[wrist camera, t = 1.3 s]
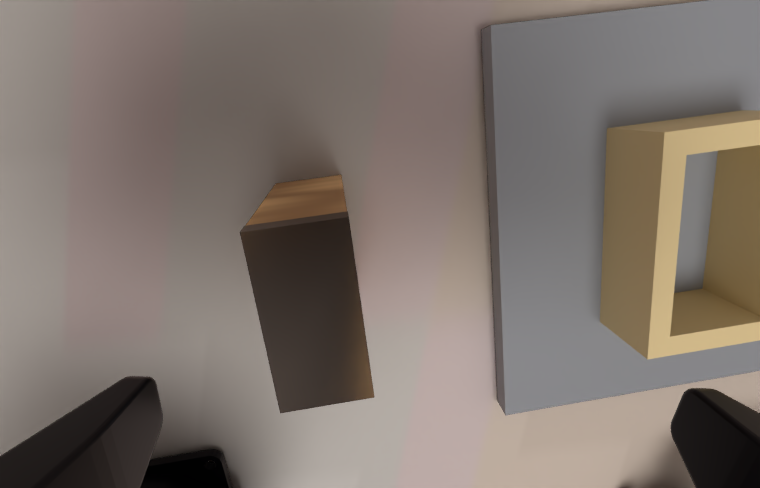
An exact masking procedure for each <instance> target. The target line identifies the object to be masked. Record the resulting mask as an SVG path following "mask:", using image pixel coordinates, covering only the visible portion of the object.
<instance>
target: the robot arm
mask: <svg viewBox="0 0 760 488" xmlns="http://www.w3.org/2000/svg"><path fill="white" fill-rule="evenodd" d="M162 421H163V413H162V408H161V403H160V399H159V394H158V390H157V385H156V382H155V380H154V379H153V378H151V377H143V376H130V377H125V378H123V379H122V380H120V381H118V382H117V383H115V384H114V385H112V386H110V387H109V388H107V389H106V390H104V391H103V392H101V393H99V394H98V395H96V396H95V397H93V398H91V399H90V400H88V401H87V402H85V403H84V404H82V405H80V406H79V407H77V408H76V409H74V410H72V411H71V412H69V413H68V414H66V415H65V416H63V417H61V418H60V419H58V420H57V421H55V422H53V423H52V424H50V425H49V426H47V427H46V428H44V429H42V430H41V431H39V432H38V433H36V434H34V435H33V436H31V437H30V438H28V439H27V440H25V441H23V442H22V443H20V444H19V445H17V446H15V447H14V448H12V449H11V450H9V451H8V452H6V453H4V454H3V455H1V456H0V488H233V487H232V483H231V480H230V476H229V473H228V469H227V465H226V462H225V458H224V456H223V454H222V453H221V452H220V451H218V450H215V449H209V450H204V451H198V452H192V453H186V454H180V455H175V456H169V457H163V458H157V459H151V460H150V458H151V455H152V453H153V450H154V447H155V444H156V441H157V438H158V436H159V433H160V430H161V427H162ZM671 434H672V437H673V440H674V442H675V444H676V446H677V449H678V451H679V453H680V455H681V457H682V459H683V461H684V464H685V466H686V468H687V470H688V472H689V474H690V476H691V479H692V481H693V483H694V485H695V487H696V488H760V413H758V412H756V411H754V410H752V409H750V408H749V407H747V406H745V405H743V404H741V403H739V402H738V401H736V400H734V399H732V398H730V397H728V396H727V395H725V394H723V393H721V392H719V391H717V390H714V389H706V388H691V389H688V390H687V391H685V392H684V394H683V396H682V398H681V400H680V403H679V405H678V408H677V410H676V412H675V415H674V417H673V419H672V422H671ZM209 460H210V461H214V462H215V463H210V462H208V461H209Z"/></svg>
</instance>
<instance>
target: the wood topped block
mask: <svg viewBox="0 0 760 488" xmlns="http://www.w3.org/2000/svg"><path fill="white" fill-rule="evenodd" d="M240 235H241V239H242V244H243V248H244V253H245V257H246V262H247V266H248V271H249V275H250V280H251V284H252V288H253V293H254V297H255V302H256V306H257V311H258V315H259V320H260V324H261V329H262V333H263V338H264V342H265V347H266V351H267V356H268V360H269V365H270V369H271V374H272V378H273V383H274V387H275V391H276V396H277V400H278V405H279V409H280V413H284V412H290V411H296V410H302V409H308V408H314V407H320V406H326V405H332V404H338V403H344V402H350V401H355V400H361V399H367V398H373V397H374V391H373V384H372V377H371V370H370V363H369V356H368V349H367V342H366V335H365V328H364V321H363V314H362V307H361V300H360V293H359V286H358V280H357V273H356V266H355V259H354V252H353V245H352V238H351V231H350V224H349V217H348V211H347V207H346V201H345V195H344V189H343V183H342V177H341V175H336V176H328V177H321V178H313V179H306V180H298V181H291V182H284V183H276V184H275V185H274V187H273V188H272V190H271V191H270V192H269V194H268V195H267V197H266V198H265V199H264V201H263V202H262V203H261V205H260V206H259V208H258V209H257V210H256V212H255V213H254V215H253V216H252V217H251V219H250V220H249V221H248V223H247V224H246V226H244V227H243V229H242V230H241V232H240Z"/></svg>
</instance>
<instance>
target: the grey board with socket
mask: <svg viewBox="0 0 760 488" xmlns="http://www.w3.org/2000/svg"><path fill="white" fill-rule="evenodd" d="M481 35H482V58H483V80H484V103H485V126H486V149H487V171H488V194H489V217H490V240H491V262H492V285H493V308H494V331H495V353H496V376H497V399H498V403H499V405H500V406H501V408H502V410H503V412H504V413H505V415H510V414H516V413H521V412H527V411H533V410H538V409H544V408H550V407H555V406H561V405H567V404H573V403H578V402H584V401H590V400H595V399H601V398H607V397H612V396H618V395H624V394H630V393H635V392H641V391H647V390H652V389H658V388H664V387H669V386H675V385H681V384H687V383H692V382H698V381H704V380H709V379H715V378H721V377H726V376H732V375H738V374H744V373H749V372H755V371H760V0H707V1H698V2H689V3H680V4H672V5H663V6H654V7H645V8H637V9H628V10H619V11H610V12H602V13H593V14H584V15H575V16H566V17H558V18H549V19H540V20H531V21H523V22H514V23H505V24H496V25H490V26H488V27H486V28H484V29H482V30H481Z"/></svg>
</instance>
